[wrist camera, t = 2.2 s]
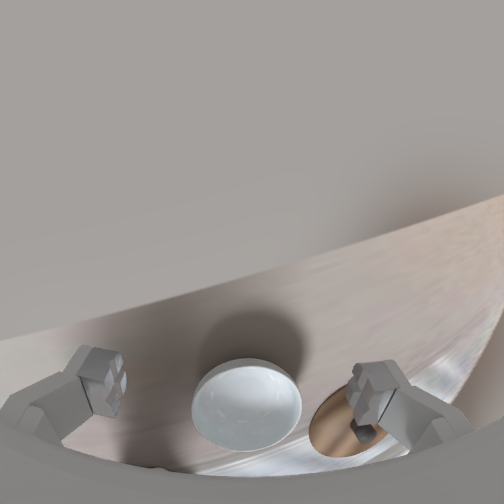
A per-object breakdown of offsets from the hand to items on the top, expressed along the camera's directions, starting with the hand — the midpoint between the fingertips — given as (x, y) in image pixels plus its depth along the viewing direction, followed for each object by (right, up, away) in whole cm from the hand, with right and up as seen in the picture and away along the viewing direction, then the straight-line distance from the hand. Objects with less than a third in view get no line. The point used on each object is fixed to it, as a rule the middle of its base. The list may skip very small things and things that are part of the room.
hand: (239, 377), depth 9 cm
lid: (+21, -29, +40) cm, 54 cm away
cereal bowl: (-1, -19, +37) cm, 41 cm away
